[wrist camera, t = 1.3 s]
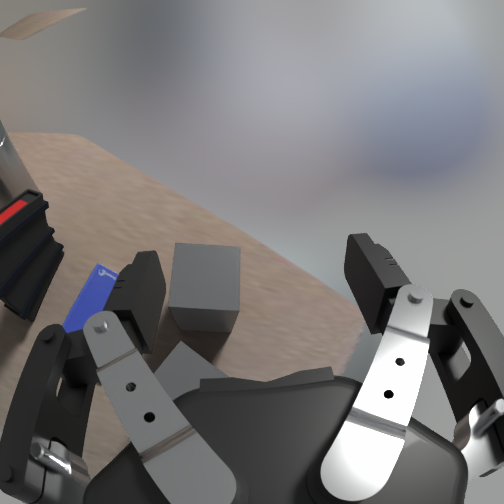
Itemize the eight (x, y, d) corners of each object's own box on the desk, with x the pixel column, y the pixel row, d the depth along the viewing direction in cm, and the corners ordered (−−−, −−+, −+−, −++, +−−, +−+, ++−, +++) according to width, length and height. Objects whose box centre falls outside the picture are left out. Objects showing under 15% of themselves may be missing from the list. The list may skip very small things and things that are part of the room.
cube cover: (200, 425, 28) (196, 441, 19) (157, 393, 29) (136, 394, 20) (231, 385, 30) (240, 385, 21) (189, 354, 31) (180, 340, 22)
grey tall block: (179, 329, 32) (168, 306, 23) (183, 281, 35) (175, 242, 26) (231, 332, 33) (239, 310, 24) (232, 284, 36) (240, 246, 27)
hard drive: (97, 261, 33) (51, 344, 28) (149, 289, 33) (102, 380, 27) (100, 266, 35) (57, 346, 29) (151, 294, 34) (106, 381, 29)
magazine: (4, 330, 26) (-39, 238, 17) (54, 269, 37) (37, 180, 28) (21, 342, 26) (-24, 250, 17) (72, 277, 37) (56, 186, 28)
